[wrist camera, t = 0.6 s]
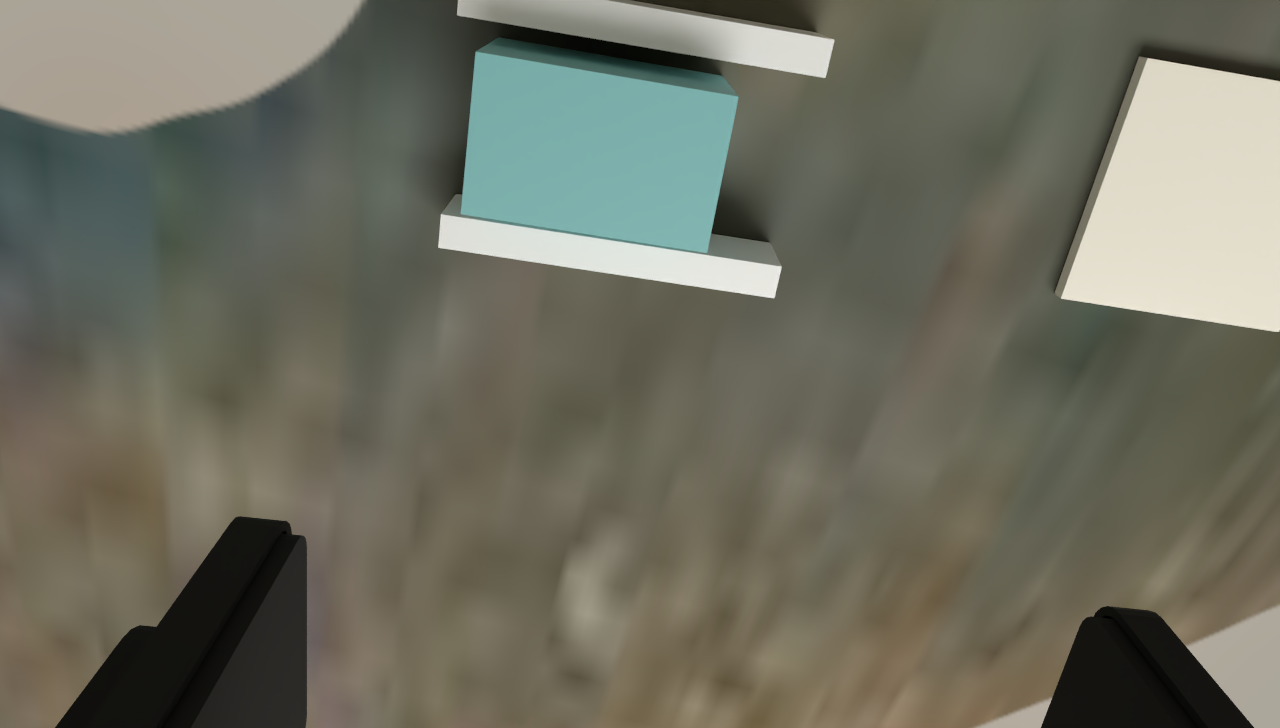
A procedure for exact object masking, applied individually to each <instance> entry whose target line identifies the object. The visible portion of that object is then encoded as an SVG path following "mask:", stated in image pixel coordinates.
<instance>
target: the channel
mask: <svg viewBox="0 0 1280 728" xmlns="http://www.w3.org/2000/svg"><path fill="white" fill-rule="evenodd" d="M457 15H458V16H463V17H469V18H475V19H481V20H487V21H493V22H499V23H505V24H511V25H516V26H522V27H528V28H534V29H540V30H546V31H552V32H558V33H563V34H569V35H575V36H581V37H587V38H593V39H599V40H605V41H611V42H616V43H622V44H628V45H634V46H640V47H646V48H652V49H658V50H664V51H669V52H675V53H681V54H687V55H693V56H699V57H705V58H711V59H717V60H722V61H728V62H734V63H740V64H746V65H752V66H758V67H764V68H770V69H775V70H781V71H787V72H793V73H799V74H805V75H811V76H817V77H822V78H826V74H827V70H828V65H829V61H830V57H831V52H832V48H833V44H834V39H832V38H829V37H827V36H824V35H822V34H819V33H817V32H811V31H805V30H799V29H794V28H788V27H782V26H776V25H771V24H765V23H759V22H753V21H747V20H742V19H736V18H730V17H724V16H719V15H713V14H707V13H701V12H696V11H690V10H684V9H678V8H673V7H667V6H661V5H655V4H650V3H644V2H638V1H632V0H458V8H457ZM461 205H462V195H460V194H455V196H454V197H453V198H452V200H451V201H450V203H449V204H448V205H447V207H446V208H445V209H444V211H443V212H442V214H441V221H440V234H439V246H438V248H444V249H451V250H458V251H464V252H471V253H478V254H484V255H491V256H497V257H504V258H511V259H517V260H524V261H530V262H537V263H544V264H550V265H557V266H564V267H570V268H577V269H583V270H590V271H597V272H603V273H610V274H617V275H623V276H630V277H636V278H643V279H650V280H656V281H663V282H669V283H676V284H683V285H689V286H696V287H703V288H709V289H716V290H722V291H729V292H736V293H742V294H749V295H756V296H762V297H769V298H775V293H776V289H777V285H778V281H779V276H780V272H781V268H782V266H781V264H780V262H779V260H778V258H777V256H776V254H775V252H774V250H773V248H772V246H771V244H770V243H768V242H762V241H755V240H749V239H743V238H736V237H730V236H723V235H717V234H711V236H710V241H709V246H708V251H707V253H703V252H697V251H691V250H684V249H678V248H672V247H665V246H659V245H653V244H646V243H640V242H634V241H627V240H621V239H614V238H608V237H602V236H595V235H589V234H583V233H576V232H570V231H564V230H557V229H551V228H545V227H538V226H532V225H526V224H519V223H513V222H507V221H500V220H494V219H488V218H481V217H475V216H469V215H462V214H461Z"/></svg>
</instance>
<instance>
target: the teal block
mask: <svg viewBox="0 0 1280 728" xmlns="http://www.w3.org/2000/svg"><path fill="white" fill-rule="evenodd" d="M738 97H739V96H738V95H737V94H736V93H735V91H734V90H733V89H732V87H731V86H730V85H729V84H728V82H727V81H726V80H725V79H724V77H723V76H721V75H715V74H709V73H703V72H697V71H692V70H686V69H680V68H674V67H668V66H663V65H657V64H651V63H645V62H639V61H634V60H628V59H622V58H616V57H610V56H605V55H599V54H593V53H587V52H581V51H576V50H570V49H564V48H558V47H552V46H547V45H541V44H535V43H529V42H523V41H518V40H512V39H506V38H500V37H498V38H496V39H495V40H493V41H492V42H490V43H489V44H487V45H485V46H484V47H482V48H481V49H479V50H477V51H476V53H475V64H474V75H473V85H472V96H471V107H470V118H469V129H468V140H467V151H466V162H465V172H464V183H463V194H462V205H461V214H462V215H469V216H475V217H481V218H488V219H494V220H500V221H507V222H513V223H519V224H526V225H532V226H538V227H545V228H551V229H557V230H564V231H570V232H576V233H583V234H589V235H595V236H602V237H608V238H614V239H621V240H627V241H634V242H640V243H646V244H653V245H659V246H665V247H672V248H678V249H684V250H691V251H697V252H703V253H707V251H708V246H709V241H710V236H711V231H712V226H713V221H714V216H715V211H716V206H717V201H718V197H719V192H720V187H721V182H722V177H723V172H724V167H725V162H726V157H727V152H728V147H729V142H730V137H731V132H732V127H733V122H734V117H735V112H736V107H737V102H738Z"/></svg>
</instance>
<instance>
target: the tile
mask: <svg viewBox="0 0 1280 728" xmlns="http://www.w3.org/2000/svg"><path fill="white" fill-rule="evenodd" d="M1055 294H1056V295H1057V296H1058V297H1060V298H1061V299H1068V300H1074V301H1081V302H1087V303H1094V304H1100V305H1106V306H1113V307H1119V308H1126V309H1132V310H1139V311H1145V312H1152V313H1158V314H1165V315H1171V316H1178V317H1184V318H1190V319H1197V320H1203V321H1210V322H1216V323H1223V324H1229V325H1236V326H1242V327H1249V328H1255V329H1262V330H1268V331H1274V332H1279V330H1280V81H1276V80H1270V79H1265V78H1259V77H1253V76H1248V75H1242V74H1236V73H1231V72H1225V71H1219V70H1214V69H1208V68H1202V67H1197V66H1191V65H1185V64H1180V63H1174V62H1168V61H1163V60H1157V59H1151V58H1146V57H1140V56H1139V58H1138V61H1137V64H1136V66H1135V69H1134V72H1133V75H1132V78H1131V80H1130V83H1129V86H1128V89H1127V92H1126V94H1125V97H1124V100H1123V103H1122V106H1121V108H1120V111H1119V114H1118V117H1117V120H1116V122H1115V125H1114V128H1113V131H1112V134H1111V136H1110V139H1109V142H1108V145H1107V148H1106V150H1105V153H1104V156H1103V159H1102V161H1101V164H1100V167H1099V170H1098V173H1097V175H1096V178H1095V181H1094V184H1093V187H1092V189H1091V192H1090V195H1089V198H1088V201H1087V203H1086V206H1085V209H1084V212H1083V215H1082V217H1081V220H1080V223H1079V226H1078V229H1077V231H1076V234H1075V237H1074V240H1073V243H1072V245H1071V248H1070V251H1069V254H1068V257H1067V259H1066V262H1065V265H1064V268H1063V271H1062V273H1061V276H1060V279H1059V282H1058V285H1057V287H1056V290H1055Z"/></svg>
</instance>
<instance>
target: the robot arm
mask: <svg viewBox="0 0 1280 728" xmlns="http://www.w3.org/2000/svg"><path fill="white" fill-rule="evenodd" d="M306 718H307V544H306V539H305V537H304V536H300V535H292V532H291V527H290V524H289V523H288V522H287V521H279V520H269V519H260V518H250V517H236V518H235V519H234V520H233V521H232V522H231V523H230V525H229V526H228V527H227V529H226V530H225V532H224V533H223V534H222V536H221V537H220V539H219V540H218V541H217V543H216V544H215V546H214V547H213V548H212V550H211V551H210V553H209V554H208V555H207V557H206V558H205V560H204V561H203V562H202V564H201V565H200V567H199V568H198V569H197V571H196V572H195V574H194V575H193V576H192V578H191V579H190V581H189V582H188V584H187V585H186V586H185V588H184V589H183V591H182V592H181V593H180V595H179V596H178V598H177V599H176V600H175V602H174V603H173V605H172V606H171V607H170V609H169V610H168V612H167V613H166V614H165V616H164V617H163V619H162V620H161V621H160V623H159V624H158V626H157V627H151V626H141V625H139V626H137V627H135V628H133V629H131V630H130V631H129V632H128V633H127V634H126V635H125V636H124V637H123V638H122V639H121V641H120V642H119V643H118V645H117V646H116V647H115V649H114V650H113V651H112V653H111V654H110V655H109V657H108V658H107V659H106V661H105V662H104V663H103V665H102V666H101V667H100V669H99V670H98V671H97V673H96V674H95V675H94V677H93V678H92V679H91V681H90V682H89V683H88V685H87V686H86V687H85V689H84V690H83V691H82V693H81V694H80V695H79V697H78V698H77V699H76V701H75V702H74V703H73V705H72V706H71V707H70V709H69V710H68V711H67V713H66V714H65V715H64V717H63V718H62V719H61V721H60V722H59V723H58V725H57V726H56V727H55V728H305V727H306ZM1041 728H1254V727H1253V726H1252V725H1251V724H1250V722H1249V721H1248V720H1247V719H1246V718H1245V716H1244V715H1243V714H1242V713H1241V712H1240V710H1239V709H1238V708H1237V707H1236V706H1235V705H1234V703H1233V702H1232V701H1231V700H1230V698H1229V697H1228V696H1227V695H1226V694H1225V693H1224V691H1223V690H1222V689H1221V688H1220V687H1219V685H1218V684H1217V683H1216V682H1215V681H1214V680H1213V678H1212V677H1211V676H1210V675H1209V674H1208V672H1207V671H1206V670H1205V669H1204V668H1203V666H1202V665H1201V664H1200V663H1199V662H1198V661H1197V659H1196V658H1195V657H1194V656H1193V655H1192V653H1191V652H1190V651H1189V650H1188V649H1187V647H1186V646H1185V645H1184V644H1183V643H1182V641H1181V640H1180V639H1179V638H1178V637H1177V636H1176V634H1175V633H1174V632H1173V631H1172V630H1171V628H1170V627H1169V626H1168V625H1167V624H1166V622H1165V621H1164V620H1163V619H1162V618H1161V617H1160V616H1159V615H1158V614H1156V613H1155V612H1152V611H1148V610H1139V609H1129V608H1119V607H1110V606H1106V607H1102V608H1100V609H1099V610H1098V611H1097V612H1096V613H1095V615H1094V617H1087V618H1086V619H1085V620H1083V622H1082V623H1081V625H1080V627H1079V630H1078V632H1077V635H1076V638H1075V640H1074V643H1073V645H1072V648H1071V651H1070V653H1069V656H1068V659H1067V661H1066V664H1065V666H1064V669H1063V672H1062V674H1061V677H1060V679H1059V682H1058V685H1057V687H1056V690H1055V692H1054V695H1053V698H1052V700H1051V703H1050V706H1049V708H1048V711H1047V713H1046V716H1045V719H1044V721H1043V724H1042V727H1041Z"/></svg>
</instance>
